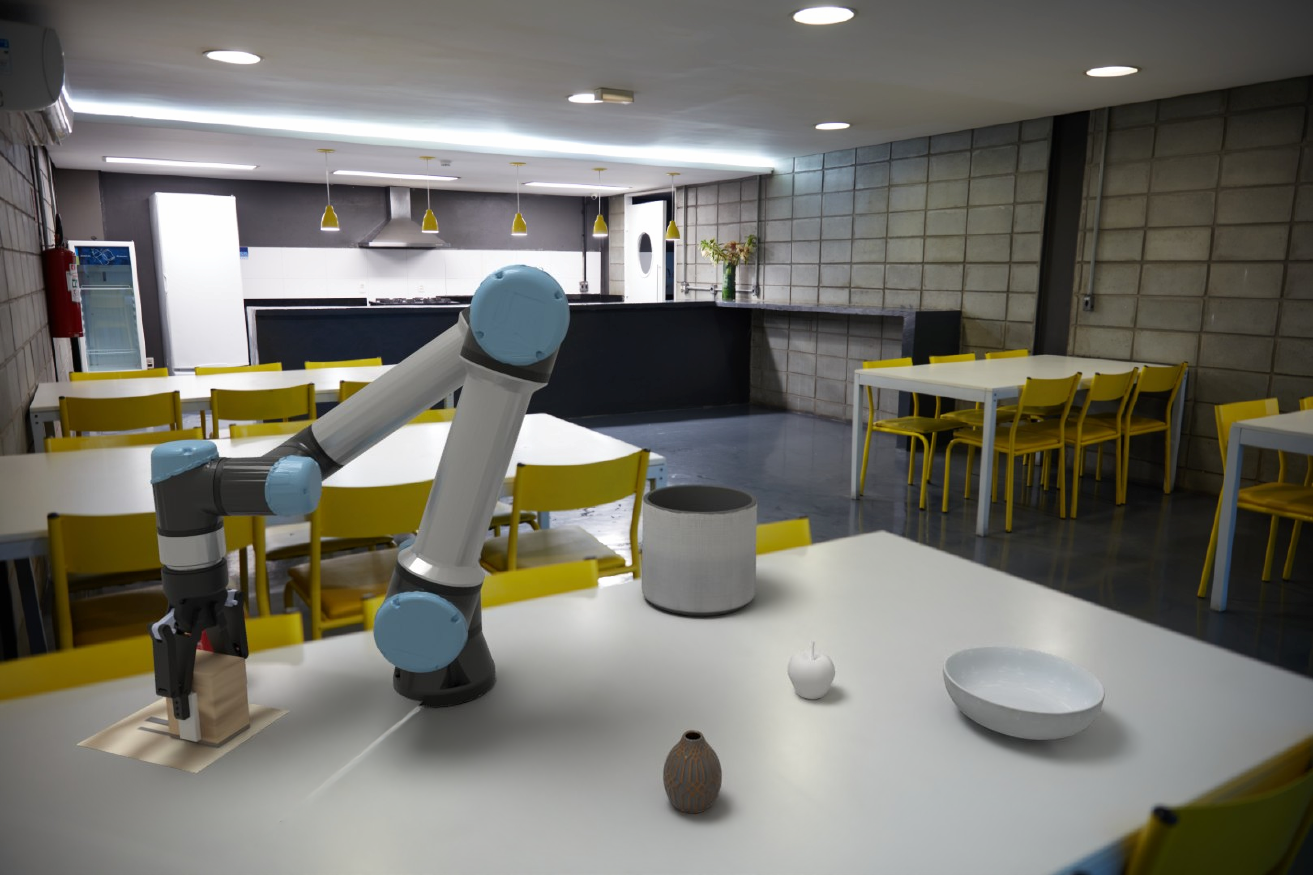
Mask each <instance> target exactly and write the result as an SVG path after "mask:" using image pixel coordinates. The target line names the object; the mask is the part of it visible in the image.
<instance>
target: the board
mask: <svg viewBox="0 0 1313 875" xmlns="http://www.w3.org/2000/svg"><path fill="white" fill-rule="evenodd" d="M248 707H249V719H250V728H248V729H246V730H245V731H243V732H242V733H240V734H239V735H237V736H236V737H234V738H233V739H231V740H229V741H228V742H226V743H225V744H223V745H222V746H220V747H219V748H216V747H212V746H207V745H203V744H198V743H194V742H189V741H185V740H180V739H176V738H172V737H170V733H169V723H168V714H167V704H166V697H162V698H160V699H158V700H156V701H155V702H153V703H151V704H149V705H147V706H144V707H143V708H142V709H140V710H138V711H136V712H134V713H132V714H130V715H129V716H127V717H125V718H123V719H121V720H119V721H118V722H115V723H113V724H112V725H109V726H108V727H106V728H104V729H103V730H100V731H99V732H97V733H95V734H94V735H91V736H90V737H88V738H86V739H84V740H82V741H80V742H79V743H77V744H75V746H80V747H84V748H88V749H90V750H91V749H92V750H96V751H100V752H105V753H108V754H109V753H110V754H113V755H118V756H122V757H125V758H126V757H127V758H130V759H135V760H140V761H142V762H143V761H144V762H147V763H151V764H155V765H160V766H164V767H169V768H173V769H176V770H182V771H184V772H190V773H193V774H197V773H199V772H200V771H202V770H203V769H205V768H207V767H208V766H210V765H211V764H212V763H215V762H216V761H217V760H219V759H220V758H222V757H223V756H225V755H227V754H228V753H229V752H231V751H233V750H234V749H235V748H237V747H238V746H240V745H242V744H243V743H244V742H246V741H247V740H249V739H250V738H252V737H254V736H256V734H258V733H259V732H261V731H263V730H264V729H266V728H267V727H268V726H270V725H272V724H273V723H274V722H276V721H278V720H279V719H281V718H283V716H285V715H286V714H288V713H290V711H291V710H285V709H280V708H276V707H270V706H266V705H261V704H255V703H251V702H248Z"/></svg>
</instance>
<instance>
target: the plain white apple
mask: <svg viewBox="0 0 1313 875" xmlns="http://www.w3.org/2000/svg"><path fill="white" fill-rule="evenodd" d="M835 668H836V667H835V664H834V662H833V660H832V658H831V657H830V656H829V655H828V654H826V653H825V652H822V651H819V650H817V649H815V641H814V640H813V641H811V645H810V649H807V650H806V649H804V650H800V651H798V652H795V653H794V654H792V655H791V657H790V658H789V660H788V663H787V670H786V671H787V676H788V678H789V680H790V682H791V684H792V687H793V689H794V690H795V692H796V694H797V695H798V696H799V697H802V698H804V699H808V700H817V699H821V698H823V697H824V696H825V695H826V694H827V692H828V690H829V689H830V688H831V685H832V684H833V681H834V679H835V677H836V669H835Z"/></svg>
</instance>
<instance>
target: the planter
mask: <svg viewBox="0 0 1313 875" xmlns="http://www.w3.org/2000/svg"><path fill="white" fill-rule="evenodd" d="M757 516H758V498H757V497H756V496H755V495H753V494H752V493H750V492H748V491H745V490H743V489H739V488H735V487H732V486H731V487H730V486H724V485H719V484H718V485H716V484H677V485H668V486H663V487H659V488H655V489H652V490H650V491H648V492H646V493H645V494H644V495H643V497H642V535H641V536H642V538H641V539H642V540H641V541H642V544H641V545H642V546H641V548H642V549H641V550H642V551H641V591H642V595H643V597H644V598H645V599H646V600H647V602H650V603H651V604H652V605H653V606H655V607H656V608H658V609H661V610H663V611H666V612H670V613H672V614H676V615H677V614H678V615H684V616H692V617H693V616H694V617H695V616H696V617H708V616H709V617H711V616H720V615H725V614H729V613H733V612H735V611H738V610H740V609H742V608H744V607H745V606H747V605H748V604H750V603H751V602H752V601H753V600H754V597H755V595H756V589H757V587H756V586H757V525H758V524H757V523H758V522H757V520H758V519H757V518H758V517H757Z"/></svg>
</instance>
